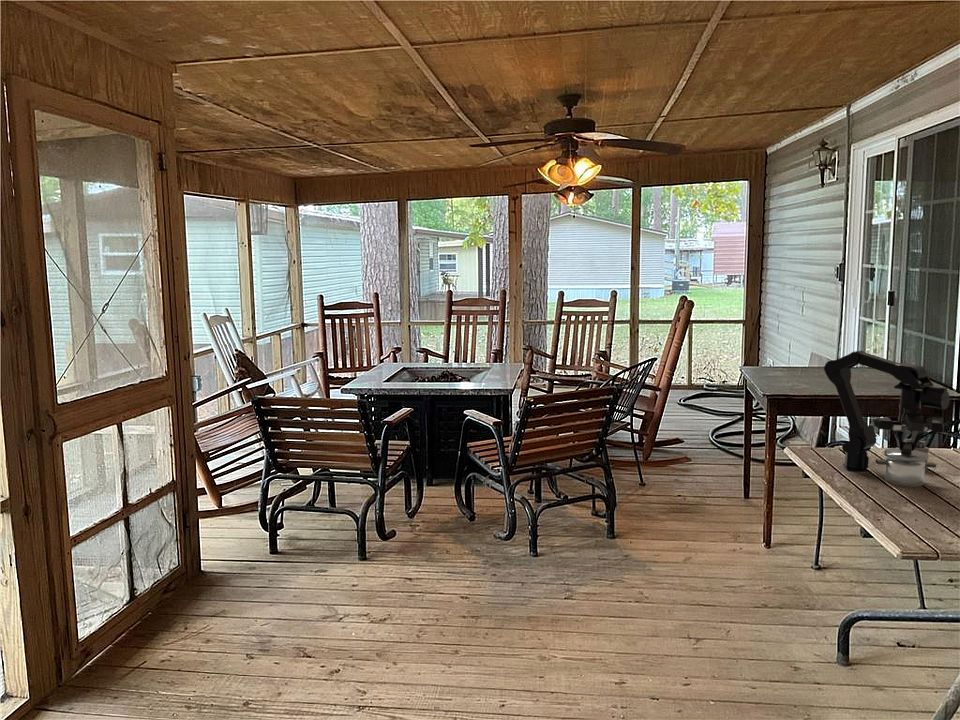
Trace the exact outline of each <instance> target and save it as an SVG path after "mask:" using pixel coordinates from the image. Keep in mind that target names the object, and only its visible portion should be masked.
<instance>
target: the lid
mask: <svg viewBox="0 0 960 720" xmlns="http://www.w3.org/2000/svg"><path fill="white" fill-rule="evenodd" d="M912 443H913V442H912V441H908V440H905V439H902V450H900V449H899V447H891V448H889V447H888V448H886V449H884V452H883V455H884V456H885V457H886V458H887V457H889V458H892V459H896V460H901V461H909V462H923V461H927V462H928V460H929V453H928V454H926V453H924V452H921V451H917V450H913V451H912Z"/></svg>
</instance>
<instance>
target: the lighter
mask: <svg viewBox="0 0 960 720" xmlns="http://www.w3.org/2000/svg"><path fill="white" fill-rule="evenodd" d="M911 439H912V438H905V439H904V440H908V441H911ZM914 450H917V451H921V452H924V453H926V454H928V455H929V451H930V448H929V447H927V446H926V441H924V440H919V441H918V443H917V445H916V447H915V449H914ZM924 462H928V460H927V461H924ZM926 470H928V467H925V471H926Z"/></svg>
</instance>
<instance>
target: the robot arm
mask: <svg viewBox="0 0 960 720" xmlns="http://www.w3.org/2000/svg"><path fill="white" fill-rule="evenodd" d="M858 365H862V366H865V367H868V368H870V369H873V370H875V371H879V372H882V373H886V374H889V375H890V376H892V377H894V379H896V380H898V381H899V382H898V384H896V385H894V389H898V390H900V401H899V404H898V408H899V411H898V412H899V414H898V417H897V420H892V419H890V418H889V417H876V418H875V419H874V424H871V425H868V424H867V423H866V421H865V420H864V417H863V414H862V411H861V408H860V406H859V403H858V400H857V398H856V394H855V392H854V390H853V389H854V388H853V386H852V383H851V380H852V371H851V370H852V369H853V368H854V367H857V366H858ZM823 370H824V373H825V374H826V376H827V378H828V380H829V381H830V382H831V383H832V385H834V386H835V389H836V392H837V394H838V398H839V400H840V402H841V406H842V409H843V410H844V414H845V417H846V419H847V422H848V425H849V426H848V441H847V442H845V443H844V444H843V445H841V448H842V451H843V453H845V454H844V455H845V456H844V463H843V464H842V466H843V467H844V468H845V469H846V471H851V472H852V471H853V472H854V471H856V472H868V471H869V470H868V469H869V462H870V461H869V460H870V458H869V456H868V452H869V451H871V448H872V447H874V446H876V445H875V444H876V443H877V437H878V435H877V434H876V432H875V428H878V430H885V431H886V430H887V431H888V430H889V431H891V432H892V433H893V434H894V437H895V440H896V443H897V446H898V448H899V449H900V450H902V440H903V435H904V430H902V428H906V430H907V431H908V432H912V433H911V438H910V439H911V441H912V442H913V443H912V451H913V450H914V449H915V447H916V445H917V443H918V441H921V440H920V439H922V437H924V435H928V434H929V431H928V429H929V430H931V431H932V432H933V433H944V432H945V425H944V423H942V422H941V421H939V420H937V419H933V418H934V417H932V416H931V415H925V416H924V415H923V414H922V413H923V412H922V405H923V406H924V407H928V408H934V409H941V410H947V409H948V407H949V405H950V401H951V397H950V394H949V392H948V387H945V386H944V387H943V386H934V384H933V382H932V381H931V379H930V377H929V376H928V375H927V371H926V368H925V367H924V366H923V365H920V364H914V363H907V362H906V363H905V362H897V361H893V360H890V359H887V358H883V357H881V356H877V355H874V354H870V353H868V352H865V351H864V350H855V351H852V352H850V353H848V354H847V355H845V356H842V357H840V358H837V359H832V360H828V361H826V362H825V365H824V366H823ZM874 427H875V428H874Z"/></svg>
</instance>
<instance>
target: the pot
mask: <svg viewBox="0 0 960 720" xmlns="http://www.w3.org/2000/svg"><path fill="white" fill-rule="evenodd" d="M875 463H876V464H877V465H884V466H885V470H884V480H885V482H888V483H891V484H894V485H898V486H903V487H911V488H912V487H921V486H923V485H924V484H925V473H926V470H925V467H927V468H932V469H934V468H937V464H936V463H935V462H932V461H931V462H929V461H927V462H924V461H923V462H909V461H901V460H896V459H892V458H889V457H887V456H886V458H885V459H878V458H877V459H876V458H875Z"/></svg>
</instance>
